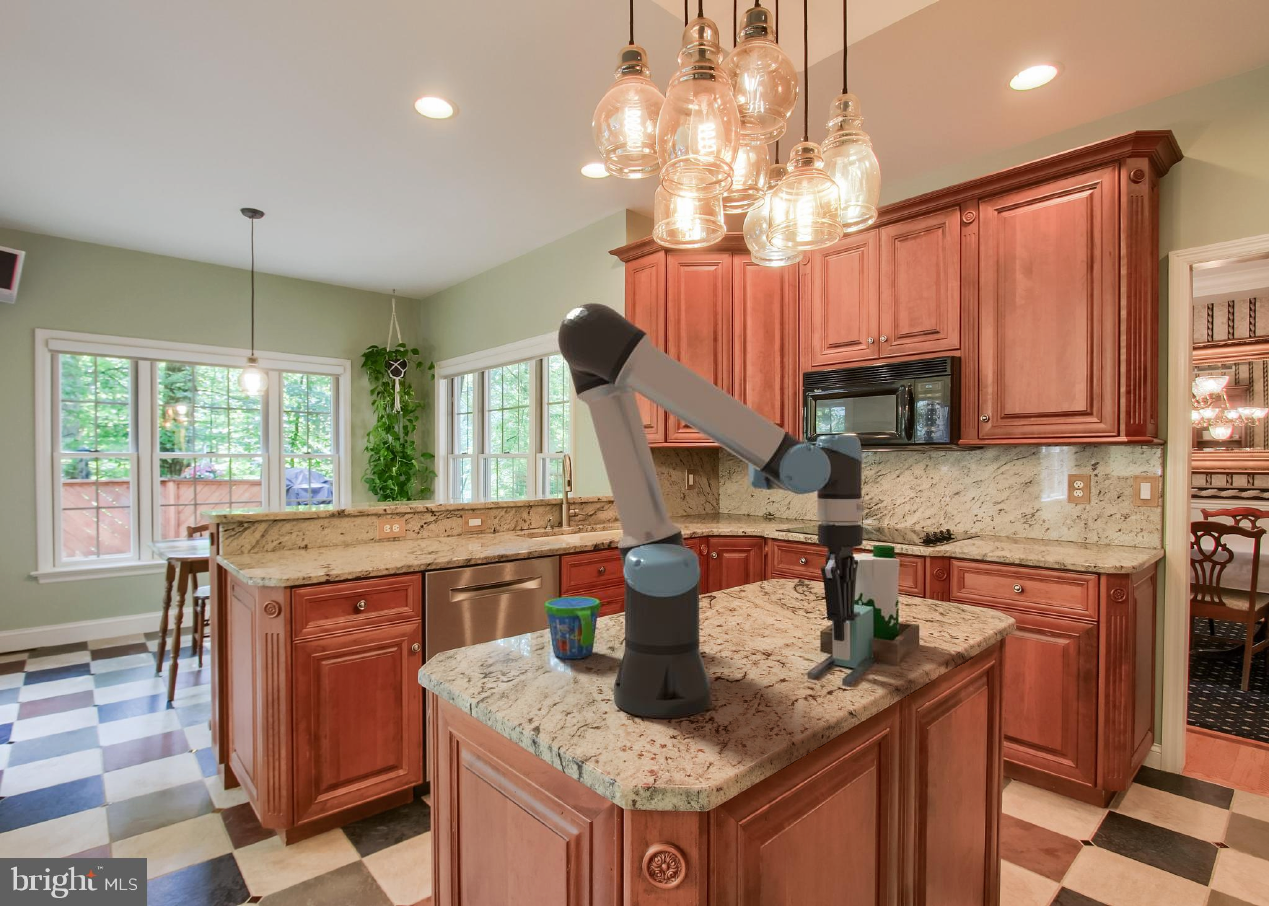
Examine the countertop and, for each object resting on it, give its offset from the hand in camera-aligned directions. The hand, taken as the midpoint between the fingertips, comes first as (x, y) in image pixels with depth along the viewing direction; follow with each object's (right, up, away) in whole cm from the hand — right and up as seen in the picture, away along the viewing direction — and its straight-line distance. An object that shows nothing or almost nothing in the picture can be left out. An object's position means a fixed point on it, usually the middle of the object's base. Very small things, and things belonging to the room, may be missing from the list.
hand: (841, 658), depth 111 cm
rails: (+1, -3, +2) cm, 3 cm away
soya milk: (+12, -3, +16) cm, 20 cm away
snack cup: (-48, -3, +12) cm, 50 cm away
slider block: (+5, -3, +7) cm, 9 cm away
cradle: (+11, -3, +15) cm, 19 cm away
